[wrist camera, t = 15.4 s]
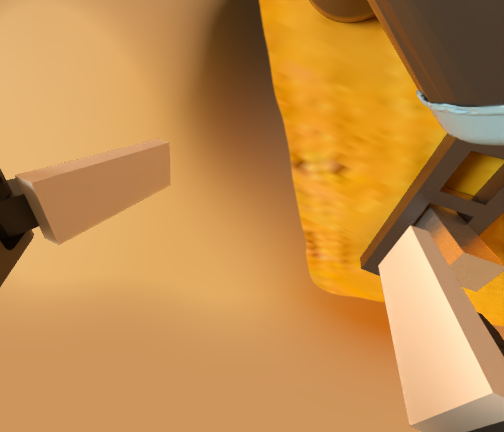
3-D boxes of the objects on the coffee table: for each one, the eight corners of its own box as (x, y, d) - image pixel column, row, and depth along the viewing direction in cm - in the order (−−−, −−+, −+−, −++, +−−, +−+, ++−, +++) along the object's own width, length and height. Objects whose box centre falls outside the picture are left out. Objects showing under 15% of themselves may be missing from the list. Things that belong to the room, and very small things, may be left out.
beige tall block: (425, 200, 32) (463, 252, 22) (453, 209, 32) (507, 267, 21) (409, 221, 35) (437, 276, 24) (435, 229, 34) (476, 291, 23)
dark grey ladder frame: (453, 123, 27) (464, 126, 25) (546, 146, 25) (567, 152, 23) (360, 258, 41) (361, 268, 39) (414, 279, 39) (419, 291, 37)
